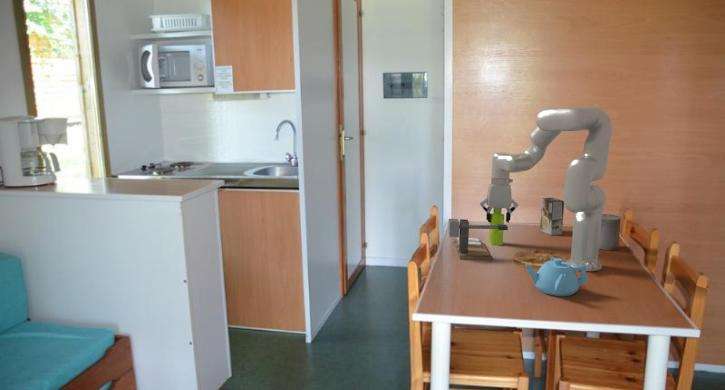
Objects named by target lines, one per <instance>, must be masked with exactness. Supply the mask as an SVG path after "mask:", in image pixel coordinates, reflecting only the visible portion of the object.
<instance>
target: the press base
mask: <svg viewBox="0 0 725 390" xmlns="http://www.w3.org/2000/svg"><path fill="white" fill-rule="evenodd" d="M459 225H461V229H459V237H456V238H455V239H453V242H452V243H453V246H454V248H455V252H456V253H457V256H458V259H459V260H480V261H481V260H483V261H484V260H487V261H489V260H491V254H490V253H489V251H488V249H487V248H486V246H485V244H484V242H483V241H482V239H479V238H478V237H475V238H474V237H469V235H470V229H469V225H470V221H469V220H468V219H467V218H466V219H465V218H464V219H463V218H460V219H459Z"/></svg>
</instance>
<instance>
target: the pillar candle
mask: <svg viewBox="0 0 725 390" xmlns="http://www.w3.org/2000/svg"><path fill="white" fill-rule="evenodd" d="M620 231H621V217H620V216H619V215H615V214H610V213H602V220H601V229H600V240H599V250H603V251H611V252H612V251H618V250H619V245H620Z"/></svg>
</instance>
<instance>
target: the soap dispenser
mask: <svg viewBox="0 0 725 390" xmlns="http://www.w3.org/2000/svg"><path fill="white" fill-rule="evenodd" d="M502 210H503V208H493V210H492V211H493V212H490V214H491V219H490V222H489V225H505V214H504V213H502ZM488 235H489V236H488V244H490V245H493V246H503V244H504V230H498V229H489V233H488Z"/></svg>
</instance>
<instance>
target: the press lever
mask: <svg viewBox="0 0 725 390" xmlns="http://www.w3.org/2000/svg"><path fill="white" fill-rule="evenodd" d="M447 221H448V224H447V234H448V236H449V237H450V238H459V237H460V229H461V225H460V220H459V219H458V218H448V219H447ZM490 229H498V230H503V231H509V230H508V229H509V226H508V225H507V224H504V225H490V224H469V230H490Z"/></svg>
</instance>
